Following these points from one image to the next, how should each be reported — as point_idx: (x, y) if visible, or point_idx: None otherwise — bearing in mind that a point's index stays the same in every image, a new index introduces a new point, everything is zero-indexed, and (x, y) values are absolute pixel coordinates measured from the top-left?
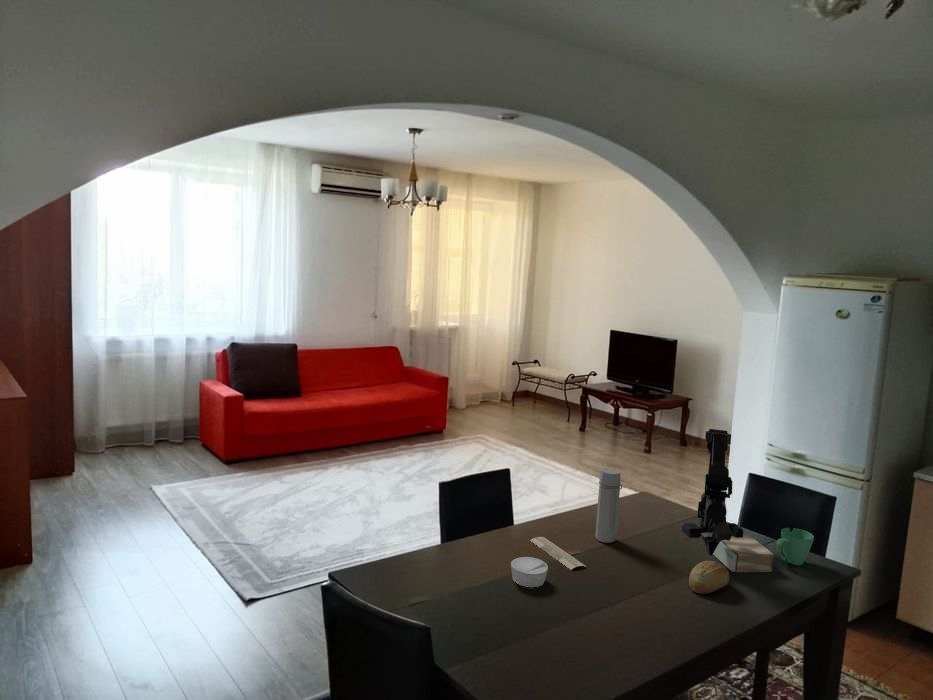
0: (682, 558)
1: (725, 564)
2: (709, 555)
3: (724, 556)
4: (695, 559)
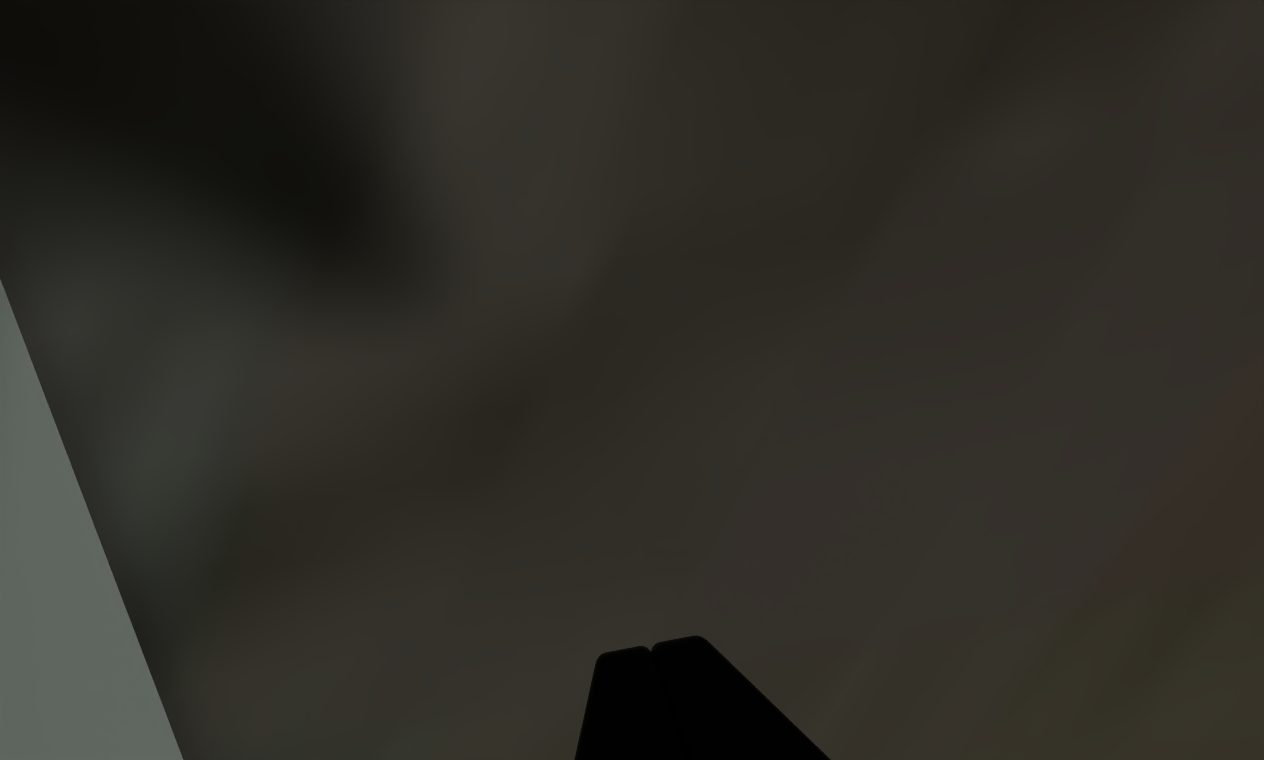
0: (1167, 637)
1: (36, 426)
2: (700, 651)
3: (11, 723)
4: (863, 651)
